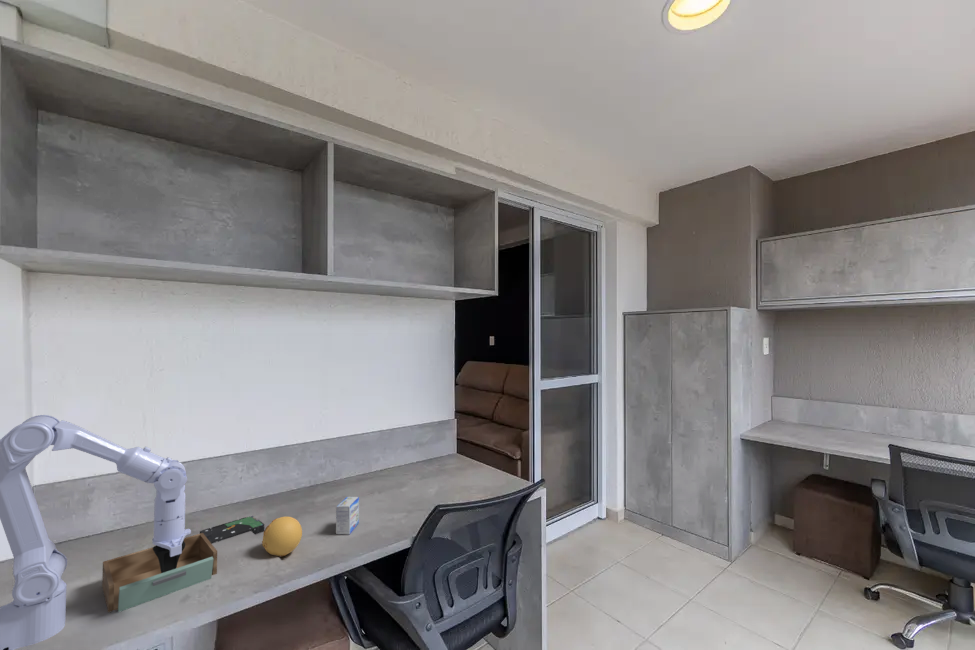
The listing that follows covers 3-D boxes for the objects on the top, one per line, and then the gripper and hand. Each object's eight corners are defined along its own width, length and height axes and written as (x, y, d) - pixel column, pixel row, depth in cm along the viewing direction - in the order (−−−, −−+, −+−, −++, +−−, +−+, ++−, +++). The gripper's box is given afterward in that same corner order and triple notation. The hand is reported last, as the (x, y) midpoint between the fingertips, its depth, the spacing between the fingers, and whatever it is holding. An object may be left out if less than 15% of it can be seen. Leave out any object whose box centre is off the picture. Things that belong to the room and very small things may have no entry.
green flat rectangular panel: (118, 614, 88) (120, 591, 87) (117, 609, 89) (119, 587, 88) (211, 580, 101) (214, 560, 100) (210, 576, 102) (212, 556, 101)
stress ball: (304, 556, 116) (307, 521, 123) (294, 541, 109) (298, 505, 117) (266, 566, 114) (272, 530, 121) (253, 551, 107) (260, 514, 115)
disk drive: (210, 552, 117) (265, 532, 129) (210, 542, 117) (265, 523, 129) (198, 540, 124) (252, 522, 135) (198, 530, 124) (252, 514, 135)
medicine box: (349, 535, 126) (350, 506, 127) (335, 534, 127) (335, 506, 127) (359, 523, 134) (359, 496, 134) (345, 523, 134) (346, 496, 135)
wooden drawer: (108, 619, 88) (109, 586, 89) (101, 591, 98) (102, 561, 98) (216, 579, 103) (217, 551, 103) (202, 558, 113) (202, 532, 113)
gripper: (198, 520, 93) (197, 581, 93) (183, 502, 103) (182, 557, 103) (159, 530, 88) (157, 595, 88) (147, 511, 98) (146, 569, 98)
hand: (168, 576), depth 95 cm, fingers closed, pressing on green flat rectangular panel
